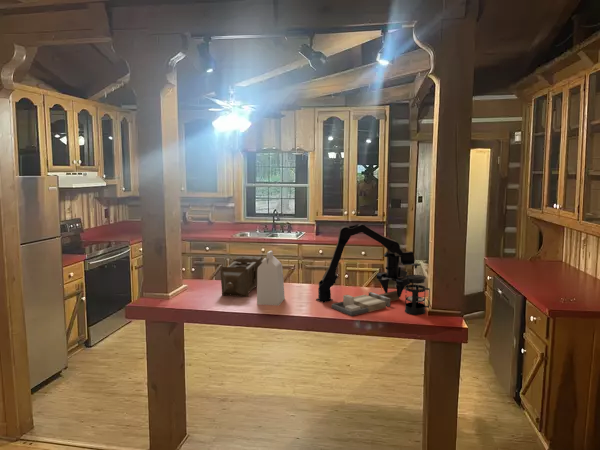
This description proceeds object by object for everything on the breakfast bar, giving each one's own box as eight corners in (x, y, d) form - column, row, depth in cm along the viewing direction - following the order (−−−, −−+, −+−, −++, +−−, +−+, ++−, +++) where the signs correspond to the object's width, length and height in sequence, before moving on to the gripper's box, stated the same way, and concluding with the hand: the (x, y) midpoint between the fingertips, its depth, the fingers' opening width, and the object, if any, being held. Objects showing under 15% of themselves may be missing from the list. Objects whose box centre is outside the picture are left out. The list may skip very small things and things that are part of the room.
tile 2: (353, 304, 218) (353, 309, 218) (345, 306, 215) (345, 311, 215) (360, 306, 213) (360, 311, 214) (351, 308, 211) (351, 313, 211)
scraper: (368, 300, 234) (368, 292, 234) (388, 295, 241) (388, 288, 241) (387, 306, 222) (387, 298, 222) (407, 302, 230) (407, 294, 229)
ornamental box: (242, 307, 234) (245, 272, 231) (210, 301, 238) (212, 267, 234) (263, 287, 268) (266, 257, 264) (235, 282, 271) (237, 252, 268)
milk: (279, 305, 227) (277, 254, 224) (256, 304, 230) (255, 253, 226) (284, 298, 239) (283, 249, 236) (263, 297, 241) (262, 249, 238)
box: (331, 308, 222) (331, 304, 222) (348, 304, 227) (348, 300, 227) (351, 316, 209) (351, 312, 209) (368, 312, 215) (368, 307, 215)
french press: (401, 313, 212) (402, 265, 209) (404, 307, 220) (405, 261, 217) (428, 316, 207) (429, 266, 204) (430, 310, 216) (431, 262, 213)
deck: (348, 304, 227) (348, 298, 227) (365, 300, 233) (365, 294, 233) (368, 311, 215) (368, 305, 215) (385, 307, 221) (385, 301, 220)
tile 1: (347, 304, 225) (343, 305, 224) (347, 294, 225) (343, 295, 223) (353, 307, 221) (349, 307, 220) (353, 297, 220) (349, 297, 219)
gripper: (418, 266, 228) (417, 296, 230) (391, 260, 243) (391, 288, 245) (402, 269, 222) (401, 300, 224) (375, 262, 237) (375, 291, 239)
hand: (392, 294), depth 233 cm, fingers open, 9 cm apart
